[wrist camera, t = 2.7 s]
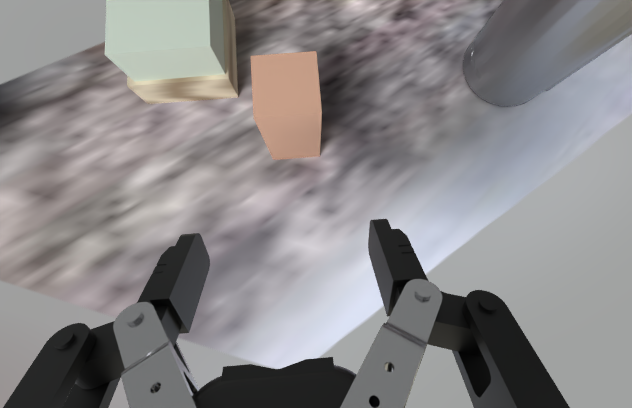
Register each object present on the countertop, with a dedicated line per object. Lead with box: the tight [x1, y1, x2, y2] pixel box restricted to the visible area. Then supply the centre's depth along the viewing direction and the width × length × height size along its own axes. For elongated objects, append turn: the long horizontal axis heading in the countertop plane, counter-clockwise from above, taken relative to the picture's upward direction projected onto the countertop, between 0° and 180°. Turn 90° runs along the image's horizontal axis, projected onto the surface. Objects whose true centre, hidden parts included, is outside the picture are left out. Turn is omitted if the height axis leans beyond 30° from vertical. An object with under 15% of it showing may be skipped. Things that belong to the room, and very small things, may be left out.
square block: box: [251, 51, 322, 160], centre depth 26 cm, size 5×5×10 cm
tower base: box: [127, 0, 238, 104], centre depth 31 cm, size 10×10×4 cm
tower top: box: [105, 0, 225, 82], centre depth 27 cm, size 9×9×4 cm
